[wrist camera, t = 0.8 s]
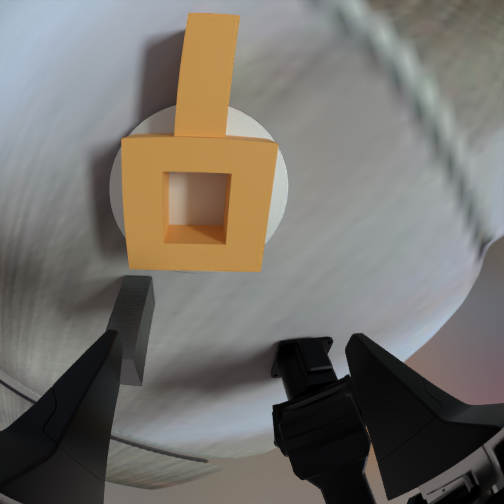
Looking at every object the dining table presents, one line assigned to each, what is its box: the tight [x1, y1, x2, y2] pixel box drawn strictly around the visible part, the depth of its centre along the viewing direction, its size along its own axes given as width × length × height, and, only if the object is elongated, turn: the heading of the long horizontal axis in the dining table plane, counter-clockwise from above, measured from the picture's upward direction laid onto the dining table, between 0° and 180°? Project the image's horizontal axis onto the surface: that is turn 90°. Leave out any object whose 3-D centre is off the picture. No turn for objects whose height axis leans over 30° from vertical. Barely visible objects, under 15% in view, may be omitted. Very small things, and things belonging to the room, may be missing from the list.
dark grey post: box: [105, 276, 155, 386], centre depth 19 cm, size 3×2×9 cm
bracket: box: [109, 13, 288, 273], centre depth 16 cm, size 19×13×4 cm
